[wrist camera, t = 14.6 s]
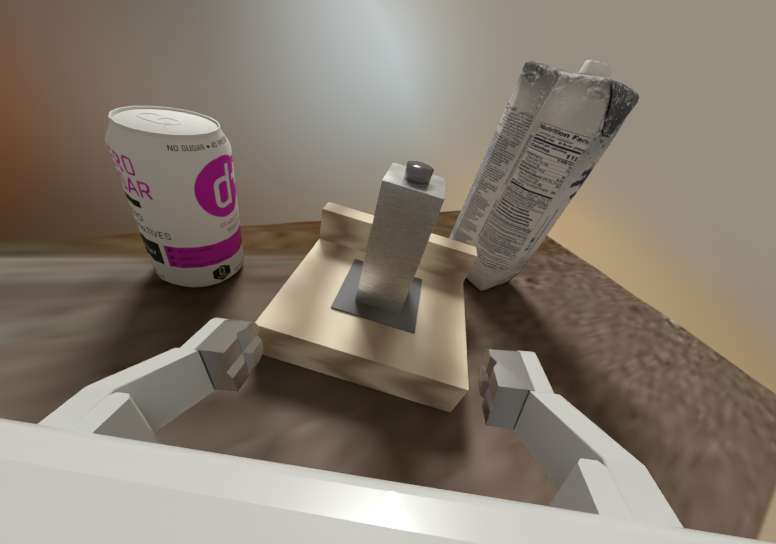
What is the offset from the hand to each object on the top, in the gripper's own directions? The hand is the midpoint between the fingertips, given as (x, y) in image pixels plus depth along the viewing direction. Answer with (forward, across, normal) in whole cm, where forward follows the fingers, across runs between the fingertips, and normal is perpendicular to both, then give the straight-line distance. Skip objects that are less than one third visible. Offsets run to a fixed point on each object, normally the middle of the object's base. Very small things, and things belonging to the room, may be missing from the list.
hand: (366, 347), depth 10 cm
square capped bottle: (+16, -2, -8) cm, 18 cm away
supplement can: (+17, -22, -8) cm, 29 cm away
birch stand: (+17, -3, -12) cm, 21 cm away
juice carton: (+33, +11, -14) cm, 37 cm away
